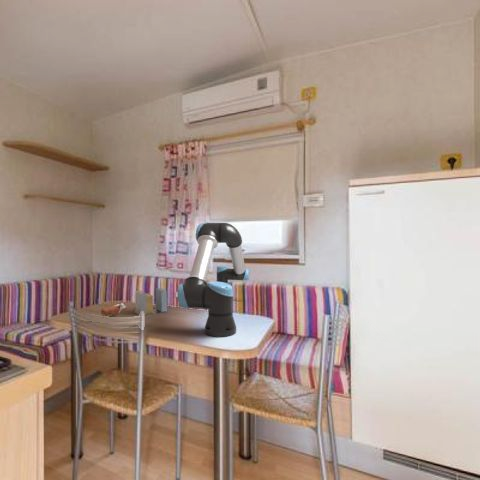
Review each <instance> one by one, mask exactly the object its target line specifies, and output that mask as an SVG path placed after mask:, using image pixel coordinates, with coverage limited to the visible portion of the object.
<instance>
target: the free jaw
mask: <svg viewBox="0 0 480 480" xmlns="http://www.w3.org/2000/svg"><path fill="white" fill-rule="evenodd" d="M167 295H168V294H167V290H166V289H164V288H162V287H159V288H157V287H156V288H155V309H158V310H159V311H161V312H164V313H166V312H165V311H167V307H168V305H167V302H168V301H167V300H168V297H167Z"/></svg>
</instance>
